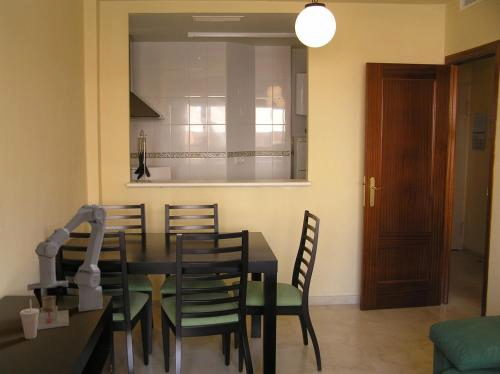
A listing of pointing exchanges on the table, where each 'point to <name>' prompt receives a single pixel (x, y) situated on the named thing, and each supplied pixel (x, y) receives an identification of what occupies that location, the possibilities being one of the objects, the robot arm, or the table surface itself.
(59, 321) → the jack base
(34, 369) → the table surface
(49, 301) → the post
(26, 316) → the smoothie
